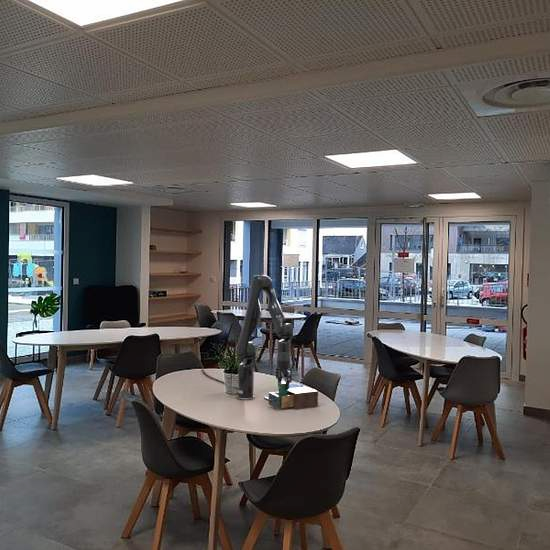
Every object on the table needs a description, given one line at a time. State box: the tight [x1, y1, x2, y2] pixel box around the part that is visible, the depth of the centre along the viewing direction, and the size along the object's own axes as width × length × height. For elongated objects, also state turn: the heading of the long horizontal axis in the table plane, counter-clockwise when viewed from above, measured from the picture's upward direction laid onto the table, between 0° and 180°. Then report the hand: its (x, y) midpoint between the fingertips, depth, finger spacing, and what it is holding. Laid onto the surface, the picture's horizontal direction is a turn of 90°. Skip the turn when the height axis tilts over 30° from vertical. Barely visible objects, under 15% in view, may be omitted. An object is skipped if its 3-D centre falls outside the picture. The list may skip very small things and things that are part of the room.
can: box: [277, 380, 288, 405], centre depth 299 cm, size 5×5×12 cm
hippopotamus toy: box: [289, 382, 304, 388], centre depth 323 cm, size 11×15×10 cm
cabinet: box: [288, 386, 319, 410], centre depth 304 cm, size 15×13×9 cm
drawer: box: [263, 391, 294, 410], centre depth 298 cm, size 18×12×7 cm, turn 117°
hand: (283, 388), depth 299 cm, fingers open, 8 cm apart
